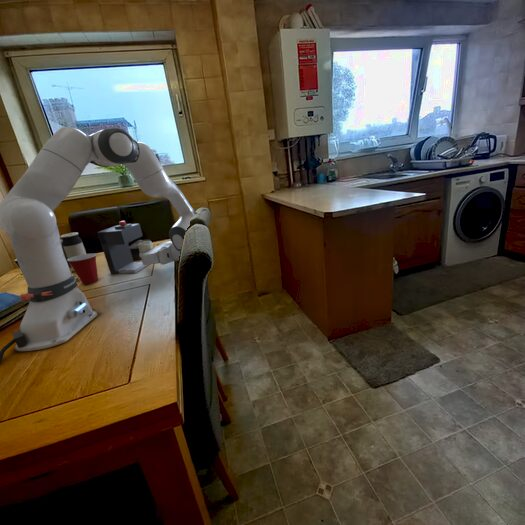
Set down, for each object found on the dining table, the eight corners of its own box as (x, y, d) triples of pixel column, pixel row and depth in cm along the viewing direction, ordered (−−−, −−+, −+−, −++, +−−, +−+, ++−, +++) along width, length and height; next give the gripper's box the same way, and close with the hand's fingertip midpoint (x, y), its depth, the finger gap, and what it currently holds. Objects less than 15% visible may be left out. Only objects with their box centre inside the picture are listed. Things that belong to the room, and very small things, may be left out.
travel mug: (82, 271, 136) (69, 236, 129) (68, 272, 137) (55, 237, 131) (94, 265, 143) (82, 231, 137) (81, 266, 144) (68, 232, 138)
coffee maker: (133, 274, 124) (120, 228, 117) (110, 274, 127) (96, 230, 120) (150, 263, 136) (138, 221, 129) (129, 264, 139) (116, 222, 131)
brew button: (123, 225, 122) (122, 221, 122) (118, 225, 123) (117, 222, 122) (127, 224, 124) (126, 220, 124) (122, 224, 125) (121, 220, 124)
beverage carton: (153, 248, 161) (150, 237, 159) (143, 259, 143) (139, 247, 141) (139, 250, 161) (136, 239, 158) (127, 261, 143) (123, 249, 140)
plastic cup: (109, 275, 126) (101, 250, 121) (94, 286, 115) (84, 259, 111) (88, 277, 127) (79, 252, 123) (70, 287, 117) (60, 261, 113)
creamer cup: (154, 264, 125) (149, 243, 122) (141, 265, 125) (135, 245, 122) (158, 259, 131) (153, 240, 128) (145, 261, 131) (139, 242, 127)
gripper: (182, 237, 132) (156, 239, 135) (158, 251, 113) (129, 252, 116) (184, 250, 134) (159, 251, 137) (162, 266, 115) (133, 266, 118)
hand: (145, 252), depth 126 cm, fingers closed on creamer cup, 6 cm apart
